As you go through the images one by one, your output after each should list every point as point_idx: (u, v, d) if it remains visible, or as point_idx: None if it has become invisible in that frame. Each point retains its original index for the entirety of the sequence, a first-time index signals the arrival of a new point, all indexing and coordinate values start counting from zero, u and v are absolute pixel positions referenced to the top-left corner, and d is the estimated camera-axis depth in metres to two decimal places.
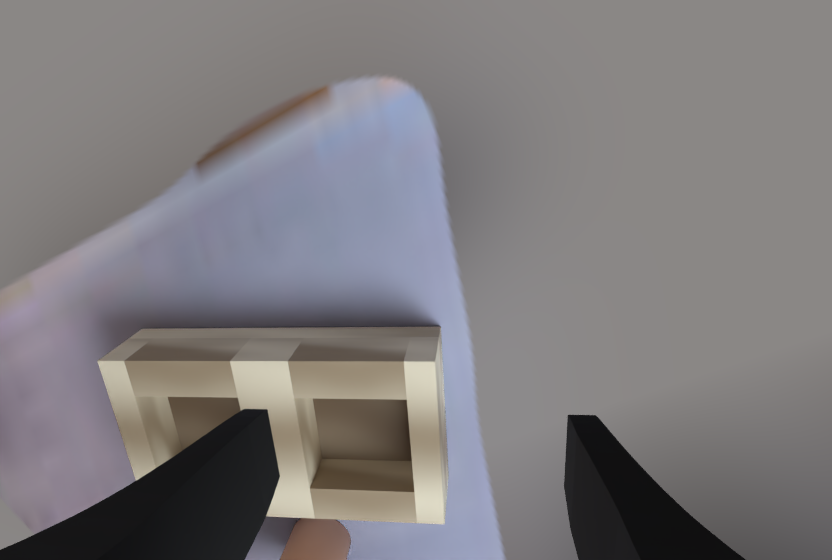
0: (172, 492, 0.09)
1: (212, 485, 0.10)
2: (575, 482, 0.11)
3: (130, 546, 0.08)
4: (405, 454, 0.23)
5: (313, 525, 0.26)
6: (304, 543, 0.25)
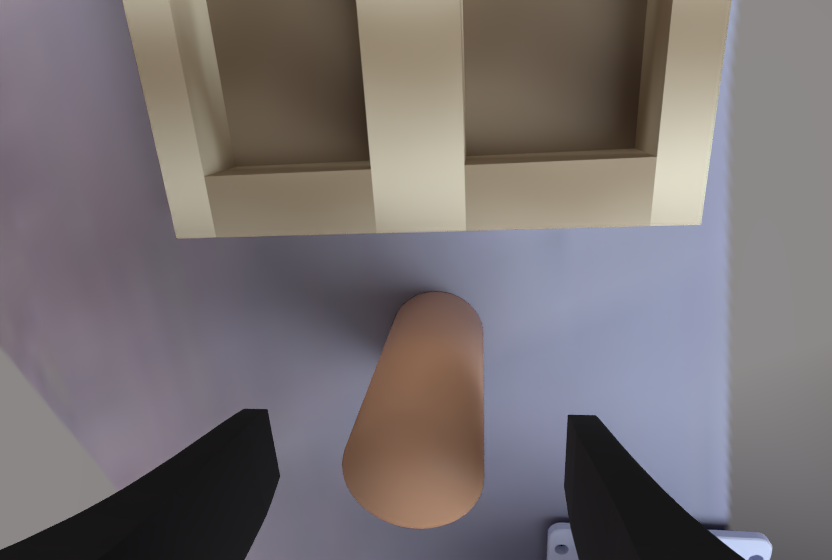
0: (172, 492, 0.09)
1: (212, 485, 0.10)
2: (575, 482, 0.11)
3: (130, 546, 0.08)
4: (612, 136, 0.14)
5: (433, 299, 0.17)
6: (426, 313, 0.16)
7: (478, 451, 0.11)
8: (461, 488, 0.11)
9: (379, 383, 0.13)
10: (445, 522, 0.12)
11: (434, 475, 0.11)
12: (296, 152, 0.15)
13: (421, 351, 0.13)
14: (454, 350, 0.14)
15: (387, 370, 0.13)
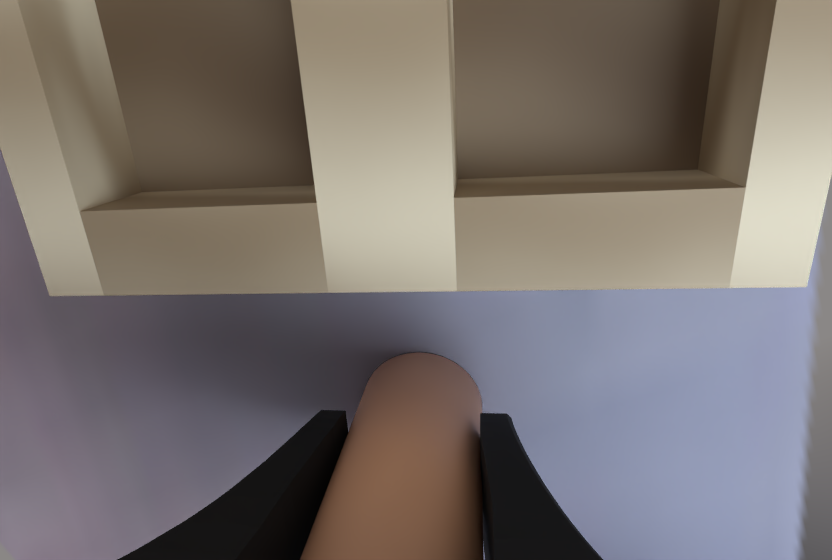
0: (278, 496, 0.09)
1: (307, 489, 0.10)
2: None
3: (250, 553, 0.07)
4: (666, 152, 0.10)
5: (415, 366, 0.12)
6: (405, 391, 0.11)
7: None
8: None
9: (327, 527, 0.08)
10: None
11: None
12: (223, 173, 0.11)
13: (392, 465, 0.09)
14: (441, 459, 0.10)
15: (341, 500, 0.09)
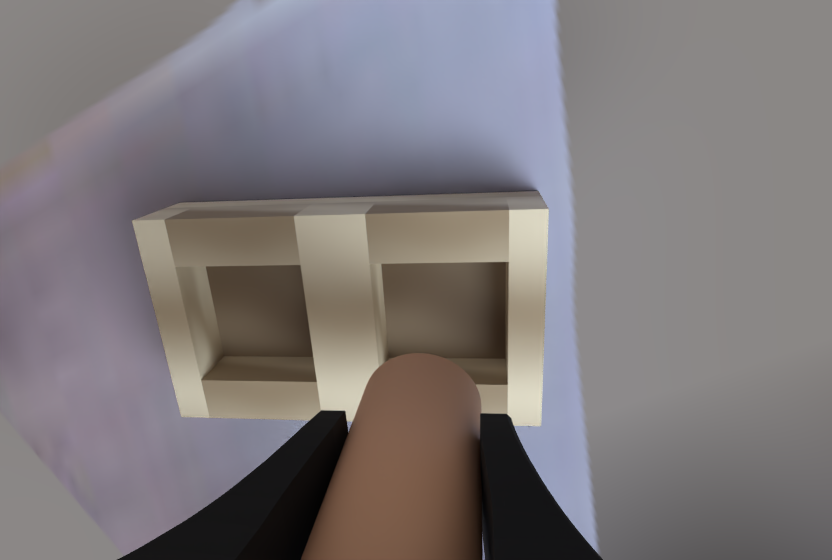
0: (278, 496, 0.09)
1: (307, 489, 0.10)
2: (481, 479, 0.11)
3: (250, 553, 0.07)
4: (489, 350, 0.20)
5: (417, 367, 0.13)
6: (407, 392, 0.12)
7: None
8: None
9: (330, 526, 0.08)
10: None
11: None
12: (268, 349, 0.21)
13: (395, 467, 0.09)
14: (443, 462, 0.10)
15: (343, 499, 0.09)
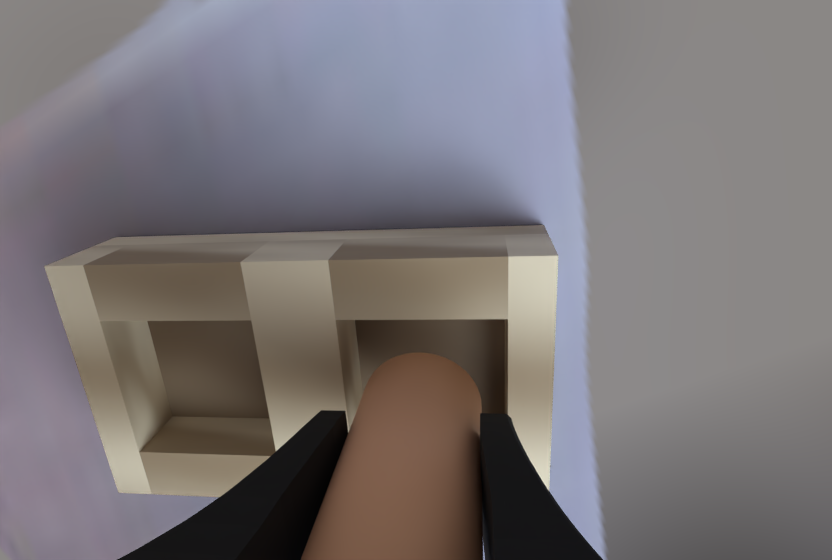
0: (278, 496, 0.09)
1: (307, 489, 0.10)
2: (481, 479, 0.11)
3: (250, 553, 0.07)
4: None
5: (417, 366, 0.13)
6: (407, 391, 0.12)
7: None
8: None
9: (330, 526, 0.08)
10: None
11: None
12: (223, 409, 0.18)
13: (395, 466, 0.09)
14: (443, 461, 0.10)
15: (344, 499, 0.09)
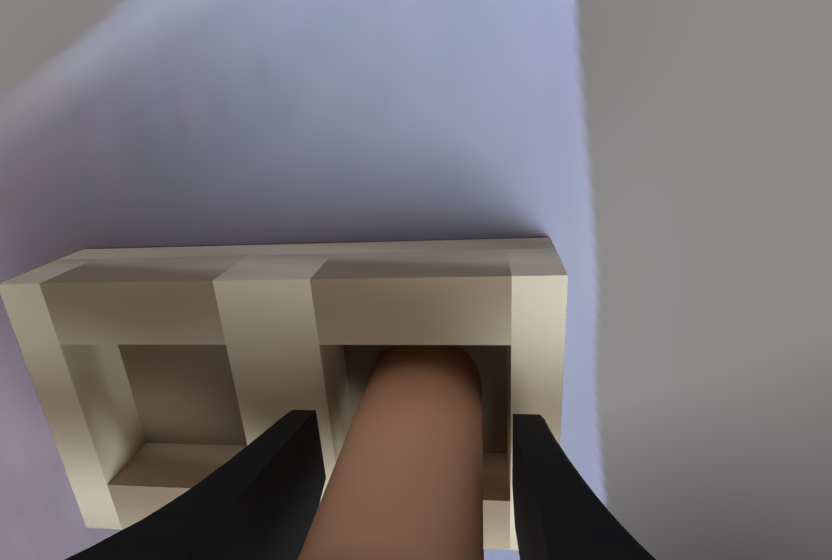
0: (238, 495, 0.09)
1: (271, 487, 0.10)
2: (516, 480, 0.11)
3: (204, 550, 0.08)
4: (486, 442, 0.15)
5: (422, 348, 0.13)
6: (412, 368, 0.12)
7: None
8: None
9: (344, 478, 0.09)
10: None
11: None
12: (201, 435, 0.16)
13: (402, 429, 0.10)
14: (447, 427, 0.11)
15: (356, 457, 0.10)
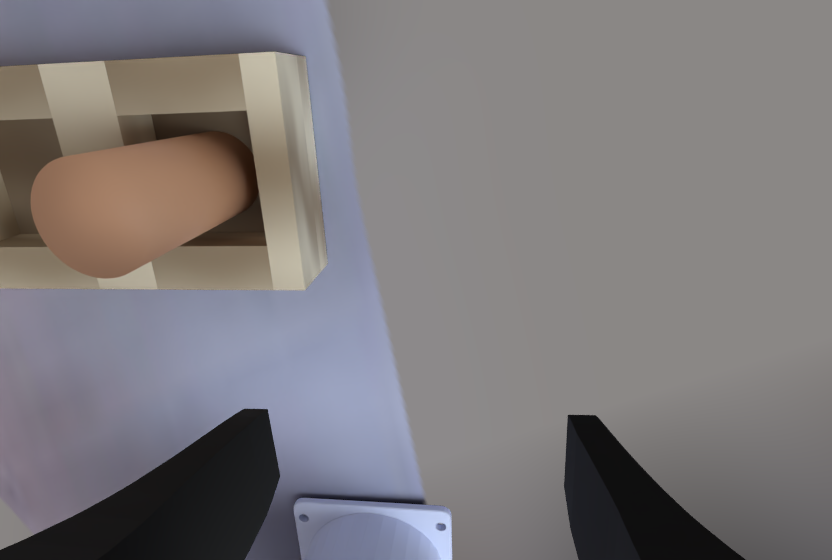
0: (172, 492, 0.09)
1: (212, 485, 0.10)
2: (575, 482, 0.11)
3: (130, 546, 0.08)
4: None
5: (204, 133, 0.18)
6: (184, 136, 0.17)
7: (142, 197, 0.13)
8: (133, 234, 0.13)
9: None
10: (127, 271, 0.13)
11: (108, 221, 0.13)
12: None
13: (143, 143, 0.15)
14: (180, 150, 0.15)
15: None
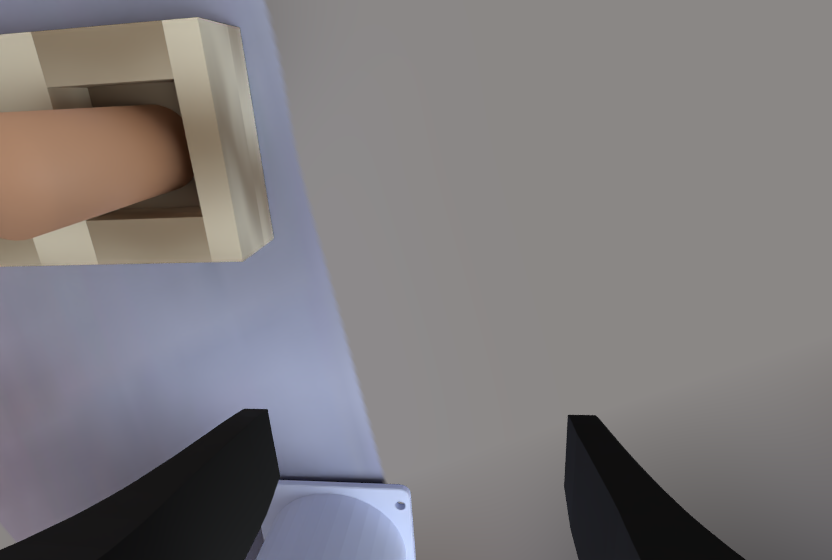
0: (172, 492, 0.09)
1: (212, 485, 0.10)
2: (575, 482, 0.11)
3: (130, 546, 0.08)
4: None
5: (138, 105, 0.18)
6: (114, 106, 0.17)
7: (46, 154, 0.13)
8: (40, 193, 0.13)
9: None
10: (38, 231, 0.13)
11: (15, 181, 0.13)
12: None
13: (62, 109, 0.15)
14: (102, 116, 0.15)
15: None
